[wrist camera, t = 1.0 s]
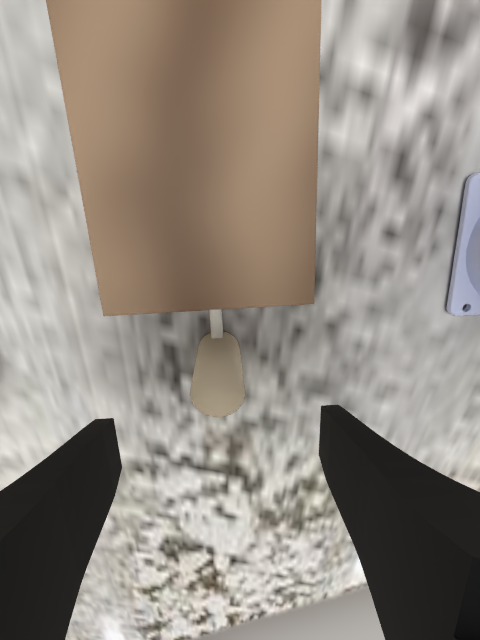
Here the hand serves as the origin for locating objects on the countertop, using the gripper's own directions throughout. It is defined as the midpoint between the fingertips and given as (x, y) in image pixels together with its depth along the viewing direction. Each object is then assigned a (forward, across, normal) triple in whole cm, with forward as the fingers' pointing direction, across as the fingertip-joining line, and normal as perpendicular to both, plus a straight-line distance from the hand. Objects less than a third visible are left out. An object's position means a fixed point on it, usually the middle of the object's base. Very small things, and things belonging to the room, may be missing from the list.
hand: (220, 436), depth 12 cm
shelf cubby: (+10, 0, -10) cm, 14 cm away
